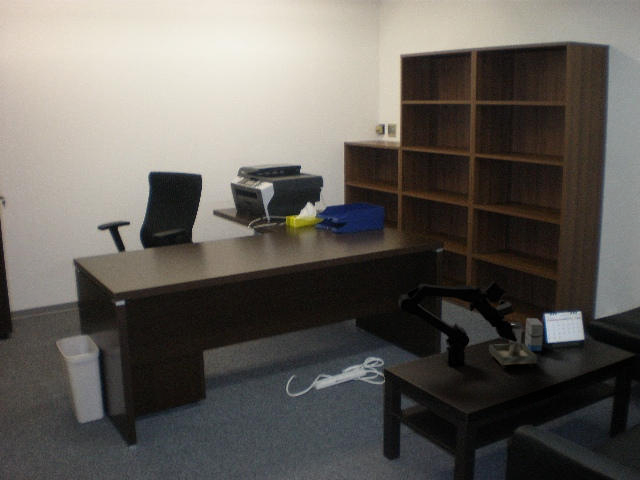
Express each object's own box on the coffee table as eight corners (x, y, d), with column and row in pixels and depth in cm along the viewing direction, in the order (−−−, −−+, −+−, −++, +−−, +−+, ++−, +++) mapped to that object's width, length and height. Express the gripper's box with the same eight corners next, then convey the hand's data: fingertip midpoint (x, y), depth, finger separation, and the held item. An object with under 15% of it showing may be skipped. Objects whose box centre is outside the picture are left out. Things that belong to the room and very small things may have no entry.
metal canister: (515, 357, 259) (516, 326, 257) (506, 354, 263) (507, 323, 260) (523, 355, 262) (524, 324, 259) (514, 351, 266) (515, 321, 263)
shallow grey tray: (501, 370, 256) (502, 357, 254) (488, 356, 269) (489, 344, 268) (535, 368, 257) (536, 356, 256) (521, 354, 271) (522, 343, 269)
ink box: (542, 351, 274) (543, 324, 271) (530, 351, 274) (531, 324, 272) (535, 343, 282) (537, 317, 280) (524, 343, 282) (525, 317, 280)
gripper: (509, 303, 248) (536, 331, 251) (495, 289, 266) (520, 315, 269) (487, 323, 250) (514, 350, 252) (475, 308, 268) (500, 333, 270)
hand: (512, 336), depth 261 cm, fingers open, 9 cm apart
